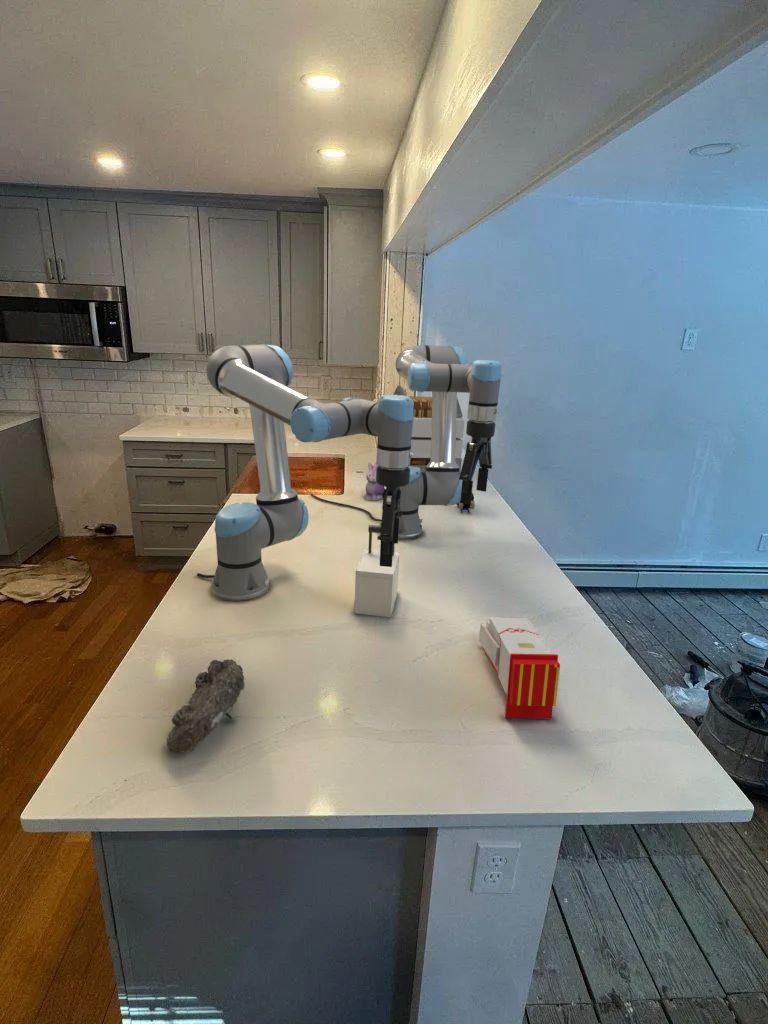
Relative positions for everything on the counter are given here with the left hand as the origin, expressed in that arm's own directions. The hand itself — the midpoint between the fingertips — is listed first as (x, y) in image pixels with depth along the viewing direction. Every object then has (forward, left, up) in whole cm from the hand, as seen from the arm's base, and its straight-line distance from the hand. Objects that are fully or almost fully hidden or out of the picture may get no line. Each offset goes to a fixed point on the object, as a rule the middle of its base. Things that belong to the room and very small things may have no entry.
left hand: (389, 553), depth 133 cm
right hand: (+19, +30, +6) cm, 37 cm away
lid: (-4, +13, -9) cm, 17 cm away
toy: (+30, -13, -20) cm, 39 cm away
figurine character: (+18, +96, -20) cm, 100 cm away
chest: (-4, +13, -20) cm, 24 cm away
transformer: (-4, +144, -20) cm, 145 cm away
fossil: (-28, -38, -20) cm, 51 cm away
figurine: (-19, +101, -20) cm, 105 cm away
